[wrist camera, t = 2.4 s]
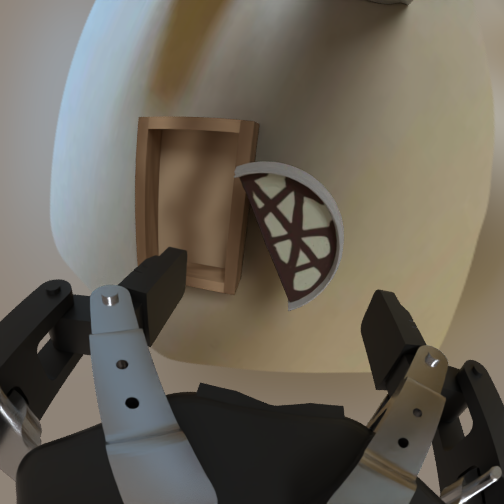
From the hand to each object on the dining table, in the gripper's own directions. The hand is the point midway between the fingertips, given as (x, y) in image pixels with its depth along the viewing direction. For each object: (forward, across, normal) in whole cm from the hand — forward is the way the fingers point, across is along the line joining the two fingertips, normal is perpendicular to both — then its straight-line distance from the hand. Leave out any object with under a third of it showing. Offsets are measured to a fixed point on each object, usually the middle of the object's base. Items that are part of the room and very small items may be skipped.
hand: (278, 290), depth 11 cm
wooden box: (+19, +9, +2) cm, 21 cm away
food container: (+19, -2, 0) cm, 19 cm away
